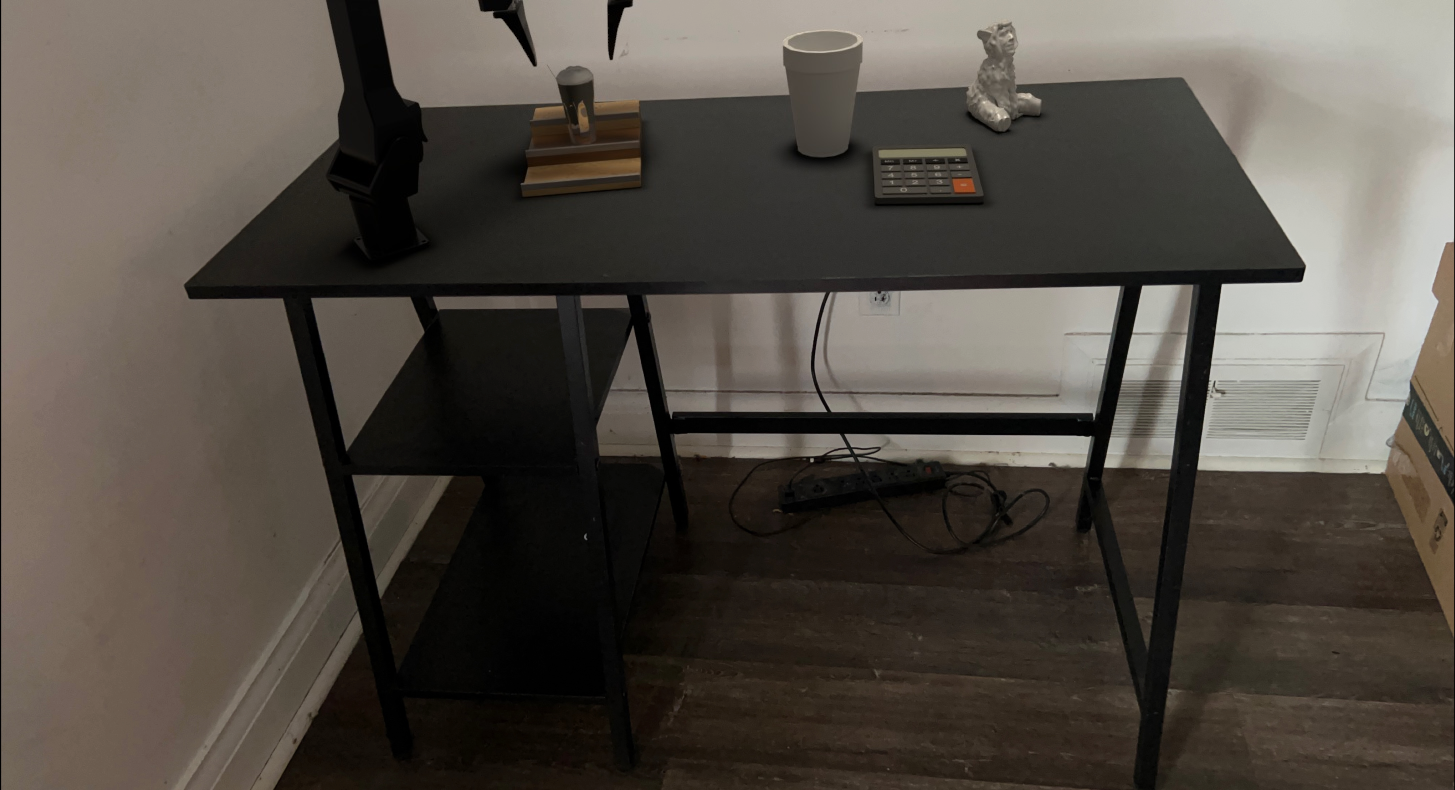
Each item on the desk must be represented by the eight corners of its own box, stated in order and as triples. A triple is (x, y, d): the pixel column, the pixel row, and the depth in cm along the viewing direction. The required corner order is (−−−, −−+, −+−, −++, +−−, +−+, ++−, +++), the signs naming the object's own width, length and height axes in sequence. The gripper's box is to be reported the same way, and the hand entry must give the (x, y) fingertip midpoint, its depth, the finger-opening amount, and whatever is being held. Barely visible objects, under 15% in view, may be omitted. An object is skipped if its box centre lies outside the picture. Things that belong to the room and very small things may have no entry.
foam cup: (874, 152, 117) (877, 44, 109) (805, 167, 114) (804, 58, 107) (838, 128, 124) (839, 25, 117) (773, 142, 122) (770, 38, 114)
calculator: (875, 196, 104) (872, 144, 116) (874, 204, 105) (872, 151, 117) (984, 194, 103) (970, 142, 115) (983, 202, 103) (969, 149, 115)
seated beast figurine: (1001, 135, 119) (1012, 36, 112) (945, 119, 124) (952, 24, 117) (1044, 114, 124) (1057, 18, 117) (989, 100, 129) (998, 7, 122)
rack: (641, 187, 113) (637, 154, 110) (522, 197, 113) (516, 165, 110) (641, 122, 131) (638, 93, 128) (539, 131, 130) (534, 102, 128)
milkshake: (557, 139, 122) (543, 59, 116) (598, 132, 123) (587, 53, 117) (563, 151, 118) (549, 70, 112) (605, 144, 119) (594, 63, 114)
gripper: (635, -98, 113) (650, 37, 122) (477, -85, 112) (504, 50, 122) (634, -81, 104) (650, 63, 113) (463, -67, 103) (493, 77, 113)
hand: (573, 62), depth 115 cm, fingers open, 9 cm apart
